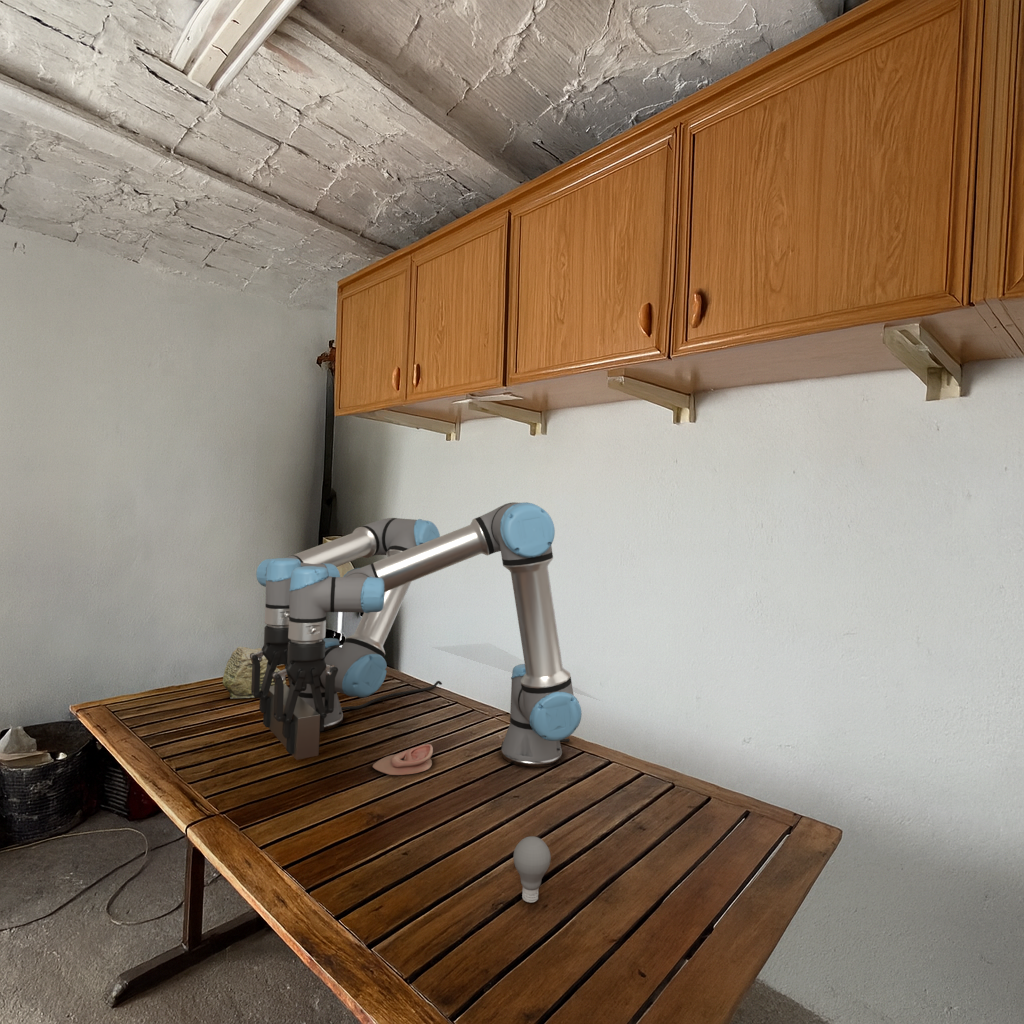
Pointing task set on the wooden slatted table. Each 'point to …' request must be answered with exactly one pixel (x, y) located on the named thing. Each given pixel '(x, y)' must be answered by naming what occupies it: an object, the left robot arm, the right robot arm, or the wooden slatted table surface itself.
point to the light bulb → (531, 865)
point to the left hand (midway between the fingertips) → (278, 723)
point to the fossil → (243, 673)
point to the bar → (298, 726)
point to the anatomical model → (406, 761)
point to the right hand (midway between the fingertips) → (302, 749)
